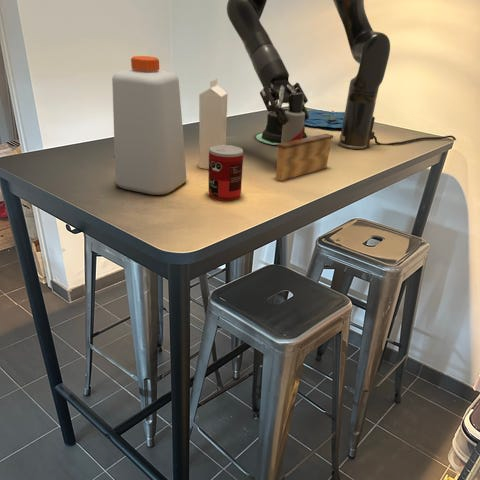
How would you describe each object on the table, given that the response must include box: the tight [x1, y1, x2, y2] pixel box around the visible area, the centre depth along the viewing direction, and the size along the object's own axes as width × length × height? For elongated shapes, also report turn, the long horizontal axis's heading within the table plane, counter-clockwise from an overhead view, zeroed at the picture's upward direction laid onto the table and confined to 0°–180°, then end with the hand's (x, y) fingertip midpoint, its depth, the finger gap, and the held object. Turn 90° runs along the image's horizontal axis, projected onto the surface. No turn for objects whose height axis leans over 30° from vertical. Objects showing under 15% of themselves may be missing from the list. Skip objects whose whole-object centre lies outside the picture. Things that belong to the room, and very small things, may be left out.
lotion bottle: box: [281, 92, 305, 143], centre depth 127 cm, size 6×6×20 cm
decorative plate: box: [304, 109, 345, 129], centre depth 183 cm, size 30×30×5 cm
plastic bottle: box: [111, 55, 188, 196], centre depth 108 cm, size 15×15×28 cm
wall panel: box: [275, 133, 334, 182], centre depth 127 cm, size 21×3×9 cm, turn 133°
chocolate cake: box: [255, 108, 309, 146], centre depth 157 cm, size 15×19×20 cm
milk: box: [198, 78, 228, 170], centre depth 124 cm, size 6×6×22 cm
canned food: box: [208, 144, 244, 202], centre depth 109 cm, size 8×8×11 cm
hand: (296, 121), depth 125 cm, fingers open, 8 cm apart
